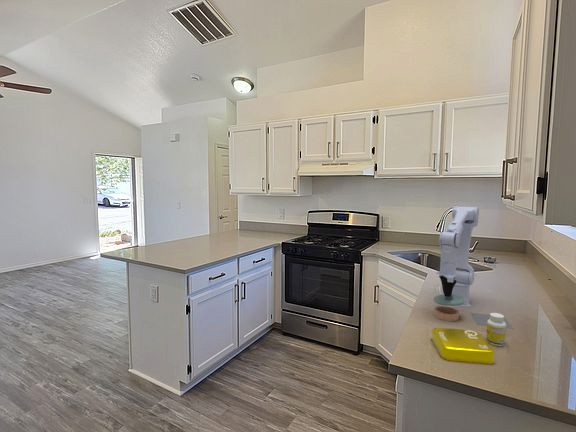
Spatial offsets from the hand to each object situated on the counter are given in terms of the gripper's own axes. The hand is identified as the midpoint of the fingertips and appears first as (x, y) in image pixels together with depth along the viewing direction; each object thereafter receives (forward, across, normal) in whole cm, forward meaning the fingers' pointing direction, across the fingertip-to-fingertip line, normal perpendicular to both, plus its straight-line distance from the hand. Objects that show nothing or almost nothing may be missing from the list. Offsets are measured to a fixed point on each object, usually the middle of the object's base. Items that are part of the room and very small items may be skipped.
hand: (446, 294), depth 129 cm
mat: (+9, -1, +16) cm, 19 cm away
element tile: (+10, +27, +1) cm, 29 cm away
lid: (+2, 0, +1) cm, 3 cm away
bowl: (+9, 0, 0) cm, 9 cm away
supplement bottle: (+10, +18, +13) cm, 24 cm away
